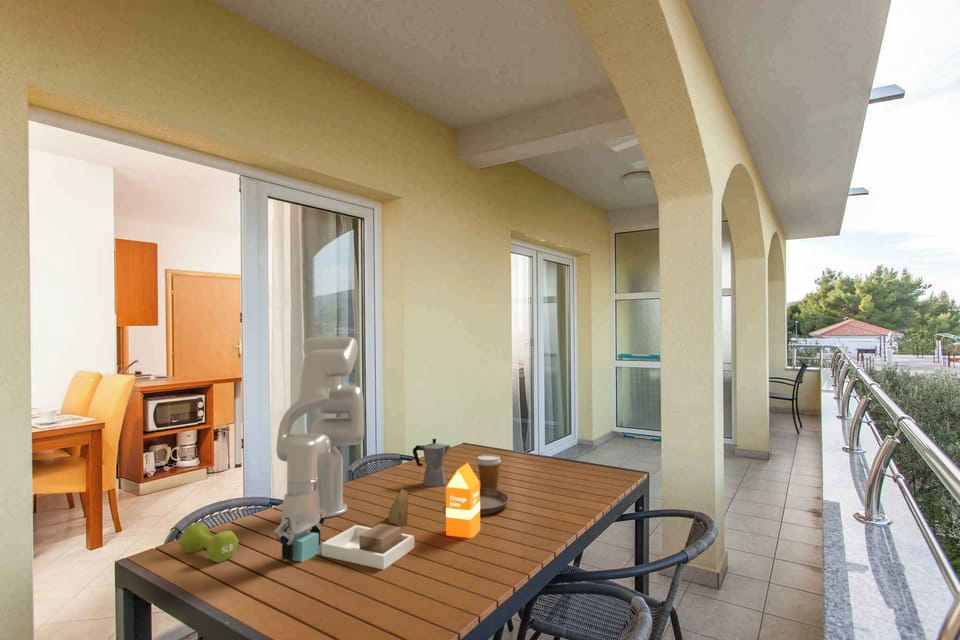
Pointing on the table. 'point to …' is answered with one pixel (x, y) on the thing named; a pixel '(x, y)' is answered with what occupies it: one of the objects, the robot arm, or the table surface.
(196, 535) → the dumbbell
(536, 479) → the table surface
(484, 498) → the plant saucer
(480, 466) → the disposable coffee cup
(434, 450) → the coffeepot
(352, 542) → the white tray
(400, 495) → the rock
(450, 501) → the orange juice
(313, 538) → the teal box
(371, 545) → the walnut block
